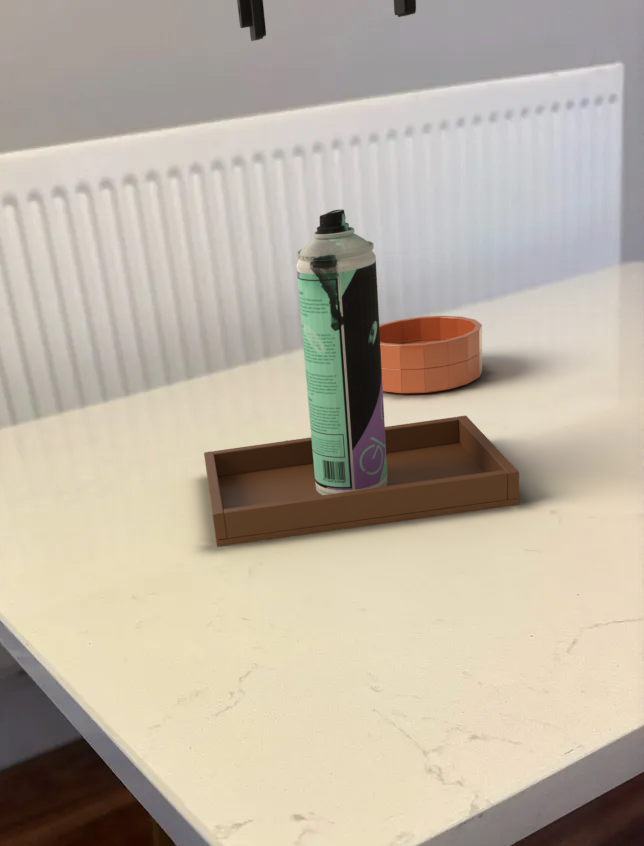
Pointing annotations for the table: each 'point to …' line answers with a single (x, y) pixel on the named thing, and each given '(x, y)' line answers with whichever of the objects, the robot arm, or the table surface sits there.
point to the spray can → (342, 357)
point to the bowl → (430, 353)
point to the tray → (399, 501)
